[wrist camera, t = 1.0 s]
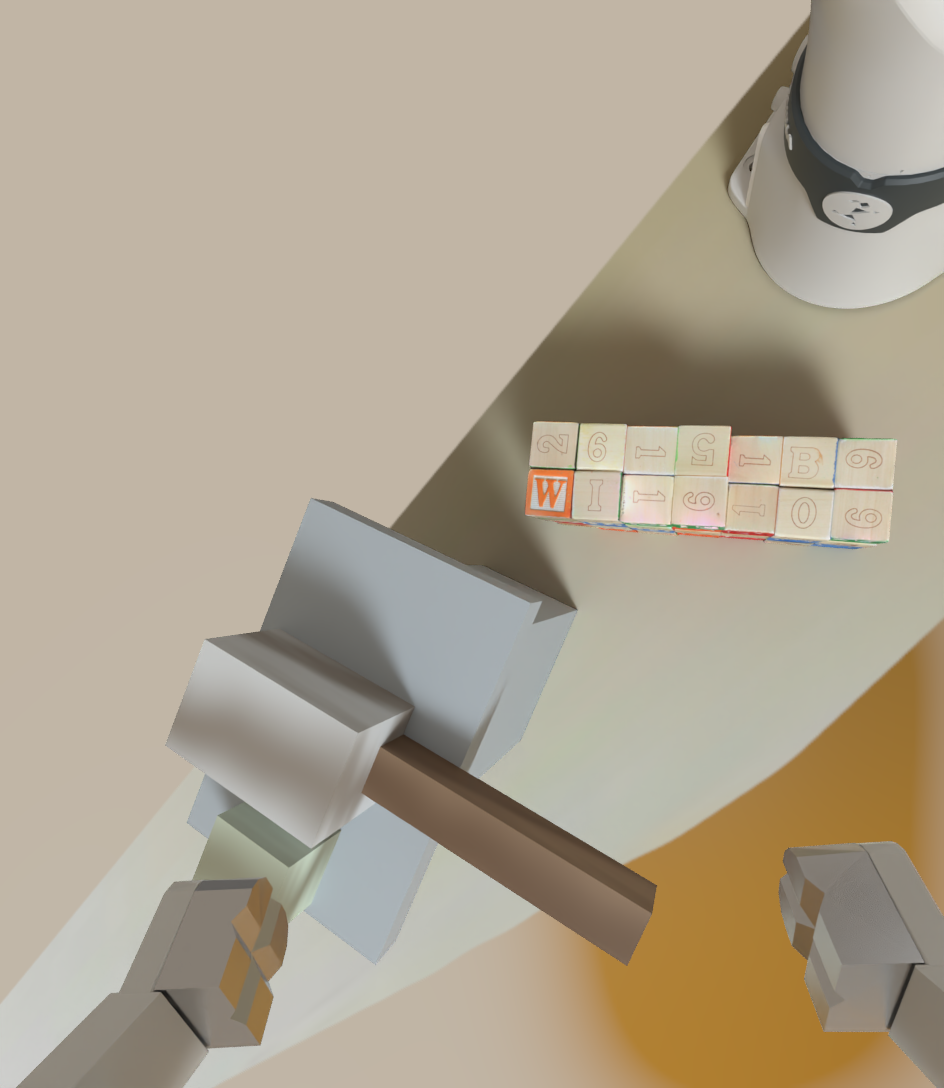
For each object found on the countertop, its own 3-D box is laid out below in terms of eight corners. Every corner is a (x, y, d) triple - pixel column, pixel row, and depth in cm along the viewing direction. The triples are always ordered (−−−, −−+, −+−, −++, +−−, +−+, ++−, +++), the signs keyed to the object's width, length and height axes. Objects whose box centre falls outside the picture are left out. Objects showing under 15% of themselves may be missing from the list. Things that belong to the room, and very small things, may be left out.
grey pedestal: (485, 528, 56) (310, 498, 31) (615, 586, 52) (530, 603, 27) (408, 714, 58) (186, 822, 33) (527, 784, 54) (375, 964, 29)
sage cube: (276, 785, 31) (217, 815, 28) (341, 830, 30) (288, 867, 26) (247, 857, 32) (186, 895, 28) (310, 904, 31) (254, 951, 27)
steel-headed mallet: (279, 628, 32) (204, 639, 27) (671, 854, 25) (662, 920, 20) (244, 719, 32) (165, 745, 28) (619, 963, 26) (598, 1052, 21)
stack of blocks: (865, 463, 46) (916, 428, 35) (856, 550, 46) (905, 544, 35) (569, 451, 54) (530, 419, 42) (562, 526, 54) (521, 515, 42)
